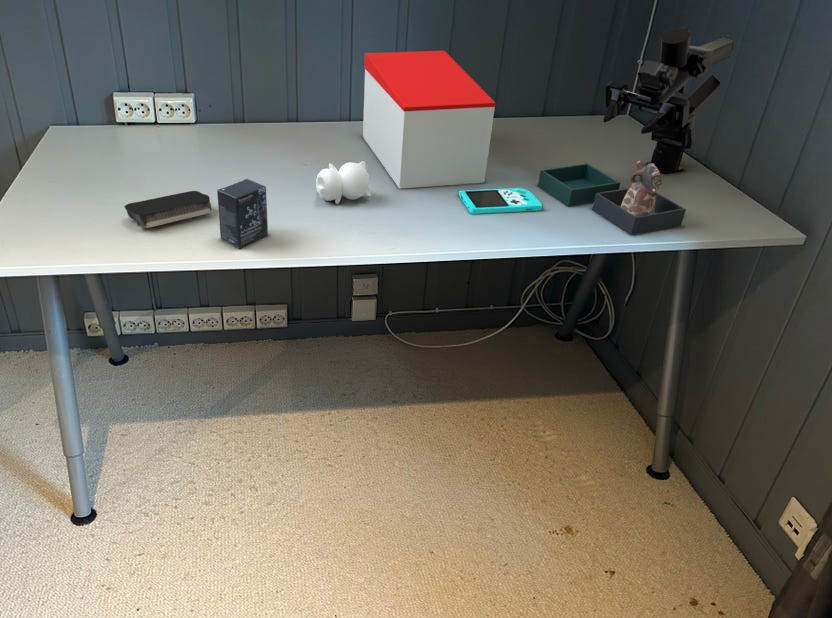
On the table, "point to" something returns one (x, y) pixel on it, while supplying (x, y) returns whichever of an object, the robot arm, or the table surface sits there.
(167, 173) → the table surface
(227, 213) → the box
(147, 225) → the black sponge
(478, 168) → the storage cube
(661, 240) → the table surface
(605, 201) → the grey tote
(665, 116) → the robot arm
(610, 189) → the teal tote
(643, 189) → the ceramic spout vessel
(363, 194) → the cat figurine
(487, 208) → the handheld game console
